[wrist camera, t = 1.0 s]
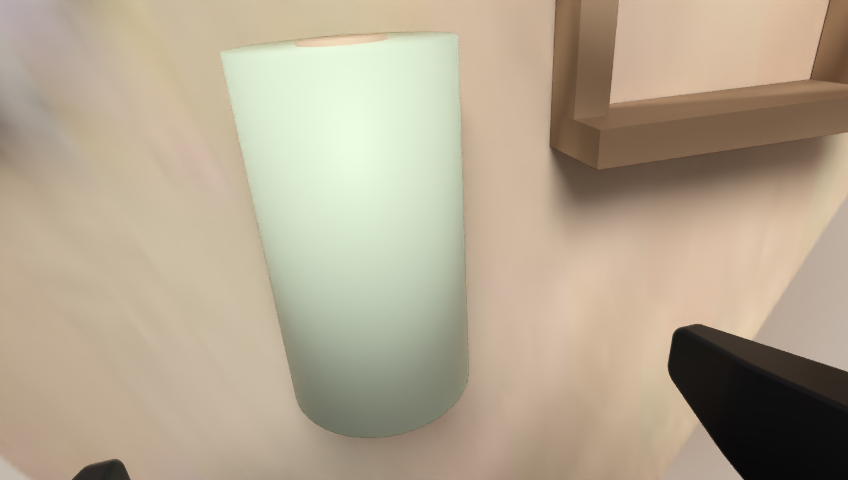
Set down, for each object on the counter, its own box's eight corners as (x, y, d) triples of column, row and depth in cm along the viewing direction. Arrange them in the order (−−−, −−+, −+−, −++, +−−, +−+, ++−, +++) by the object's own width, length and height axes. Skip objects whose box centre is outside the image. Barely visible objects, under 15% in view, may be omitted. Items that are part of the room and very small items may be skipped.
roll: (441, 311, 20) (495, 414, 15) (293, 340, 19) (297, 461, 14) (425, 25, 15) (493, 33, 10) (230, 40, 14) (202, 58, 9)
